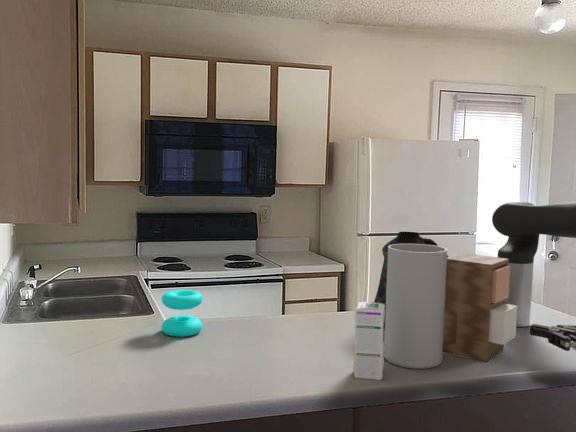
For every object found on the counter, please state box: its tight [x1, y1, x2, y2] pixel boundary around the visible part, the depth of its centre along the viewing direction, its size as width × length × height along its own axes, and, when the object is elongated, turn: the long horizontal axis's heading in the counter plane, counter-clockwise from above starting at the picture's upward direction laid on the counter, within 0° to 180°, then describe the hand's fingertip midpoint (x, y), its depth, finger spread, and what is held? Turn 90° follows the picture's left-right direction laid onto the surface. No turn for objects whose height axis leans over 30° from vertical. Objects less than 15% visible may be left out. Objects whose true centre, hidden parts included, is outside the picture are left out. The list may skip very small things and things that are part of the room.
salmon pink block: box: [491, 265, 510, 303], centre depth 132 cm, size 6×8×7 cm
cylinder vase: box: [384, 244, 448, 370], centre depth 127 cm, size 12×12×25 cm
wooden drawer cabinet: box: [442, 252, 509, 363], centre depth 134 cm, size 11×11×22 cm
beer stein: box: [373, 231, 449, 332], centre depth 155 cm, size 16×19×25 cm
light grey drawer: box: [489, 303, 517, 345], centre depth 131 cm, size 6×8×7 cm
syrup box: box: [353, 301, 385, 381], centre depth 119 cm, size 6×6×14 cm
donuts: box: [161, 289, 203, 338], centre depth 145 cm, size 10×10×10 cm
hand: (530, 329), depth 126 cm, fingers closed
